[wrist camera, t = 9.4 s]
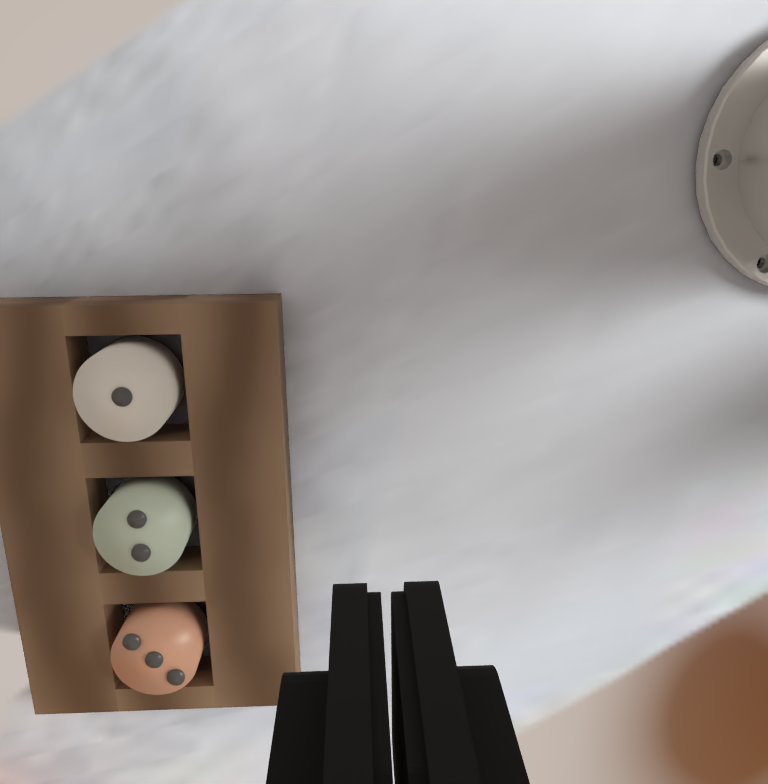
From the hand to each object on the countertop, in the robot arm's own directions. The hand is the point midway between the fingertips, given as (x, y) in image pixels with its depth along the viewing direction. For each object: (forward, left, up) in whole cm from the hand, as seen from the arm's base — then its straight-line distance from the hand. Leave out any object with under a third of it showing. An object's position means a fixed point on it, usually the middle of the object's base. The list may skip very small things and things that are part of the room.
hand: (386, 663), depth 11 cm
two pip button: (+11, +9, -24) cm, 28 cm away
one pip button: (+11, +2, -24) cm, 27 cm away
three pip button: (+11, +16, -24) cm, 31 cm away
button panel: (+11, +9, -25) cm, 29 cm away
